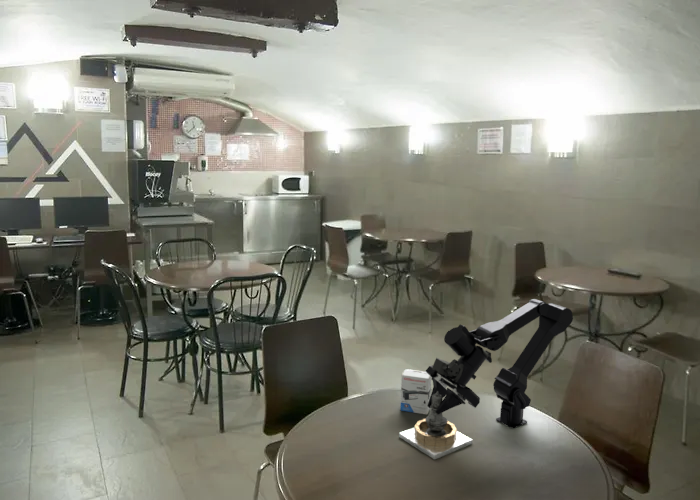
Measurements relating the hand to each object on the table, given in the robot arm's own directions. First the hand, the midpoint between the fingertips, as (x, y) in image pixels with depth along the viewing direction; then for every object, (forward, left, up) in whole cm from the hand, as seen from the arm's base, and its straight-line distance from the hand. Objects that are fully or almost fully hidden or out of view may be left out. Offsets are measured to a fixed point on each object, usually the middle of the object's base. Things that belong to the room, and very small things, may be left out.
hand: (432, 410), depth 149 cm
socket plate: (-1, 0, -9) cm, 9 cm away
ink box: (-9, -17, -9) cm, 21 cm away
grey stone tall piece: (-1, 0, -7) cm, 7 cm away
